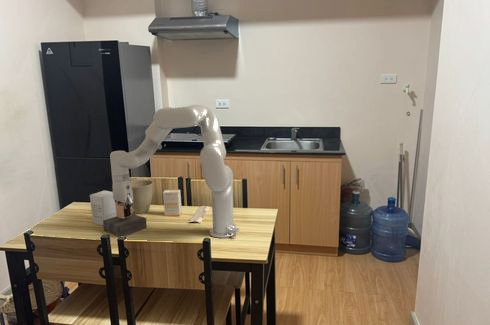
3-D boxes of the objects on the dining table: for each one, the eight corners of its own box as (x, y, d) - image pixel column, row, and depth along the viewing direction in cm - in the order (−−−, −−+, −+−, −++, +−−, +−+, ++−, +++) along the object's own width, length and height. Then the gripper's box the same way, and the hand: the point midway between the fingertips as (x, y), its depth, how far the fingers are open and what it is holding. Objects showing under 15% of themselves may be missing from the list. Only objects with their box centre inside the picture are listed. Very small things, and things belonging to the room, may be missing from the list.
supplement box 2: (182, 213, 198) (180, 189, 196) (179, 216, 194) (178, 192, 191) (167, 213, 199) (165, 189, 196) (164, 216, 194) (162, 192, 192)
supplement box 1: (107, 217, 194) (104, 189, 191) (119, 220, 190) (116, 192, 187) (92, 223, 187) (89, 194, 183) (104, 226, 182) (101, 196, 179)
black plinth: (146, 228, 179) (146, 218, 178) (121, 237, 168) (120, 227, 167) (129, 221, 187) (128, 212, 186) (104, 230, 177) (103, 220, 176)
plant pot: (140, 206, 212) (137, 178, 209) (161, 209, 205) (159, 181, 202) (120, 214, 199) (118, 185, 196) (142, 218, 192) (140, 188, 189)
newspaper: (199, 208, 207) (199, 205, 206) (212, 209, 206) (212, 206, 206) (188, 224, 184) (188, 221, 184) (202, 225, 183) (202, 221, 183)
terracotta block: (132, 215, 177) (130, 203, 175) (122, 218, 173) (121, 206, 172) (125, 213, 180) (124, 201, 178) (116, 216, 176) (115, 204, 175)
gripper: (138, 178, 170) (141, 216, 174) (117, 173, 181) (120, 209, 184) (124, 182, 164) (128, 221, 168) (103, 176, 175) (107, 213, 179)
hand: (124, 214), depth 176 cm, fingers closed on terracotta block, 5 cm apart
